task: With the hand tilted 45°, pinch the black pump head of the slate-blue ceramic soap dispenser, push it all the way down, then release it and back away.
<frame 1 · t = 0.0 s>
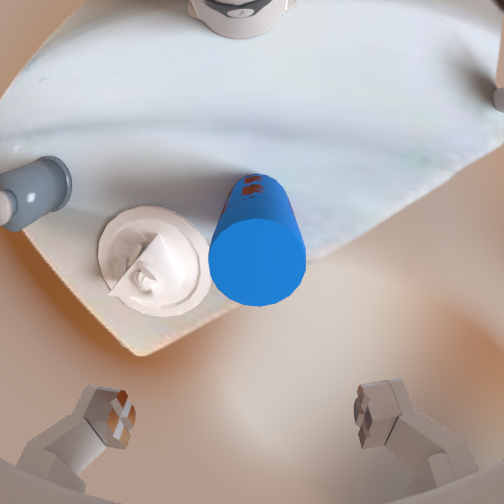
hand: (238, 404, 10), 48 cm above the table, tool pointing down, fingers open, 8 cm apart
thermos: (258, 202, 56), on the table
dish: (154, 263, 62), on the table
dispenser: (50, 183, 54), on the table
house plant: (495, 97, 44), on the table
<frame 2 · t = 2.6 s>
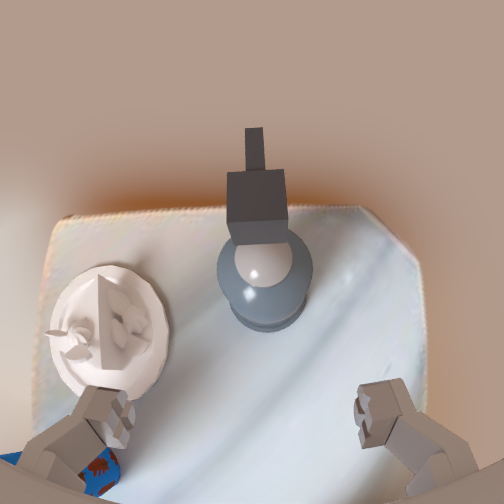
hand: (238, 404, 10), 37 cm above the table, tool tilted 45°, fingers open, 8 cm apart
thermos: (95, 463, 40), on the table
dish: (105, 335, 49), on the table
pump head: (257, 190, 25), point 27 cm above the table, slide at 0.0 cm
dispenser: (267, 294, 49), on the table
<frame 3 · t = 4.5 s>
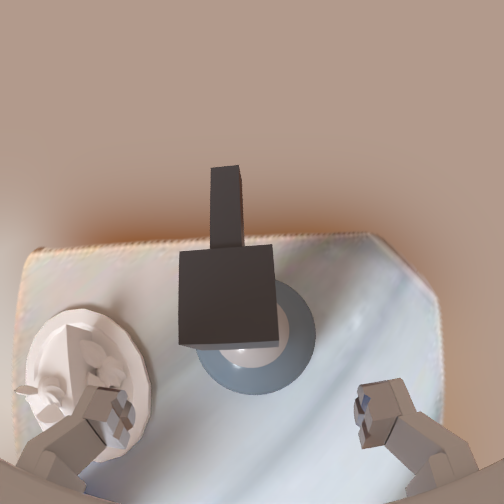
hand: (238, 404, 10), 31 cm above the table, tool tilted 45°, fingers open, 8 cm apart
dish: (83, 386, 40), on the table
pump head: (234, 265, 16), point 27 cm above the table, slide at 0.0 cm
dispenser: (261, 345, 40), on the table
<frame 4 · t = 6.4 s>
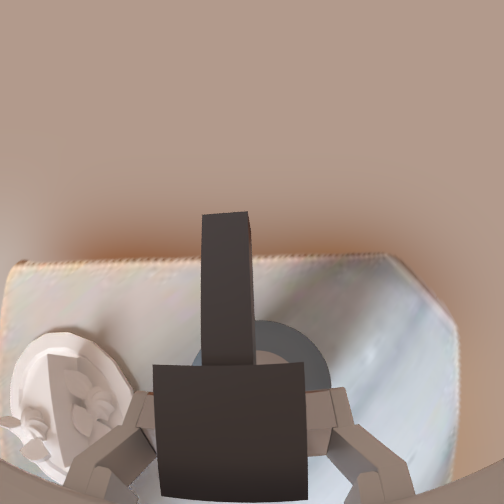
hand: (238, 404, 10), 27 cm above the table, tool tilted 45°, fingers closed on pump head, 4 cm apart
dish: (69, 415, 35), on the table
pump head: (238, 358, 11), point 27 cm above the table, slide at 0.0 cm, touching gripper
dispenser: (264, 381, 35), on the table
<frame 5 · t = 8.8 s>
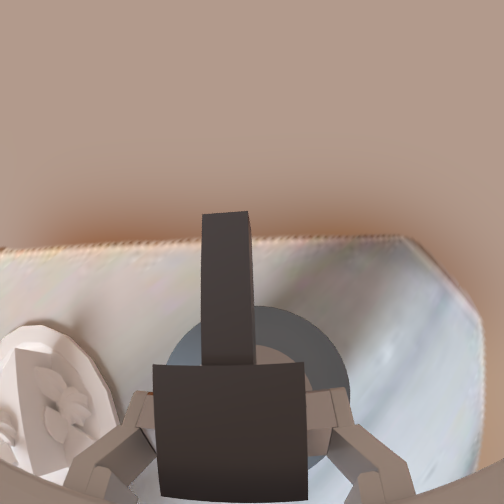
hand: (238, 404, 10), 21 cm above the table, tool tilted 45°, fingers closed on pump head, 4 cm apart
dish: (44, 418, 29), on the table
pump head: (238, 358, 11), point 21 cm above the table, slide at 6.1 cm, touching gripper
dispenser: (262, 384, 29), on the table
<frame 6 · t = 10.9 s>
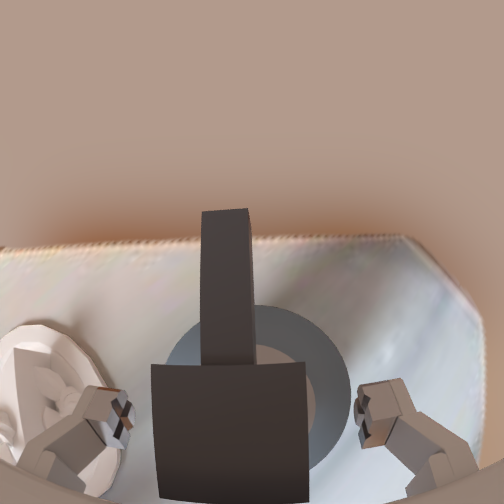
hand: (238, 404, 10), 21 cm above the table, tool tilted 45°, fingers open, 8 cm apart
dish: (43, 418, 29), on the table
pump head: (238, 358, 10), point 21 cm above the table, slide at 6.1 cm
dispenser: (262, 384, 29), on the table
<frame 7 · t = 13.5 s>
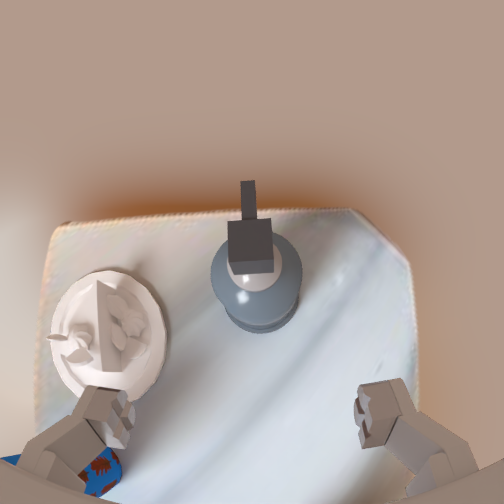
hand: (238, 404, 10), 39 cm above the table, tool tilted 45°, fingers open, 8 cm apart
thermos: (97, 463, 41), on the table
dish: (104, 338, 50), on the table
pump head: (251, 231, 32), point 21 cm above the table, slide at 6.1 cm
dispenser: (260, 296, 51), on the table
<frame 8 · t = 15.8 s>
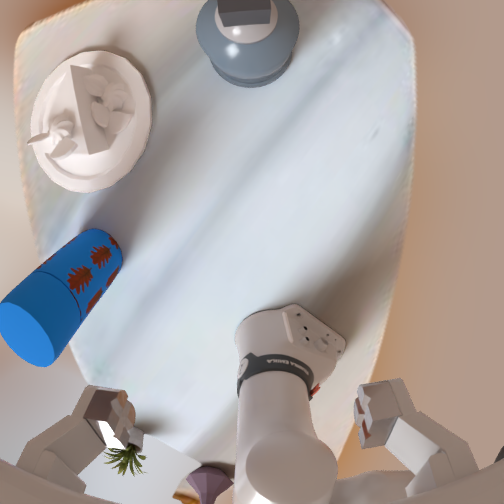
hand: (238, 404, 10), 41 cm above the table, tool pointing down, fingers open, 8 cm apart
thermos: (98, 254, 54), on the table
dish: (87, 120, 44), on the table
dispenser: (250, 50, 39), on the table
house plant: (138, 429, 77), on the table
flask: (210, 471, 87), on the table
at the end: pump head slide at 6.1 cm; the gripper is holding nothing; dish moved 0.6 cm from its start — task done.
